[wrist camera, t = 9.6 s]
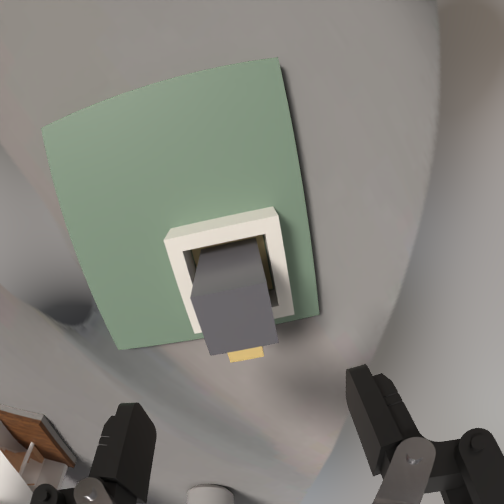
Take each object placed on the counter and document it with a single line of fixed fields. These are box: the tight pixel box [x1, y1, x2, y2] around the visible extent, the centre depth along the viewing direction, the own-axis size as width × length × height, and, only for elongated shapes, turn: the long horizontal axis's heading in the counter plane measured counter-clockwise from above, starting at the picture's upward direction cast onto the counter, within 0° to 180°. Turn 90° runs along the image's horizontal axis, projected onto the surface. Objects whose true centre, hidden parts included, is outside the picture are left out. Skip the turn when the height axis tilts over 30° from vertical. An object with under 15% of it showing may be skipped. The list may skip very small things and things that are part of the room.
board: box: [41, 57, 319, 350], centre depth 21 cm, size 20×18×4 cm
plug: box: [190, 237, 279, 362], centre depth 20 cm, size 5×4×7 cm
